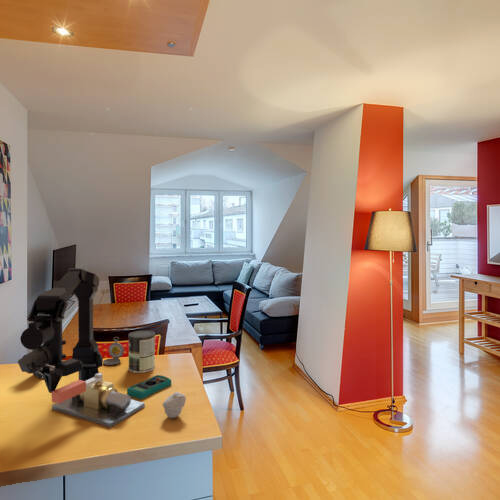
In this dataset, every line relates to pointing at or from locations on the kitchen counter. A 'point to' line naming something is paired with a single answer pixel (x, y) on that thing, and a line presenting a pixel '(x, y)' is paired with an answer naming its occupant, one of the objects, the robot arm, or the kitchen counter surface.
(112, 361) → the pocket watch
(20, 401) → the kitchen counter surface
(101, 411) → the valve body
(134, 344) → the coffee can
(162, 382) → the digital multimeter
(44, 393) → the kitchen counter surface
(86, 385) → the lever
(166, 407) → the pale grey rock
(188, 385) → the kitchen counter surface
